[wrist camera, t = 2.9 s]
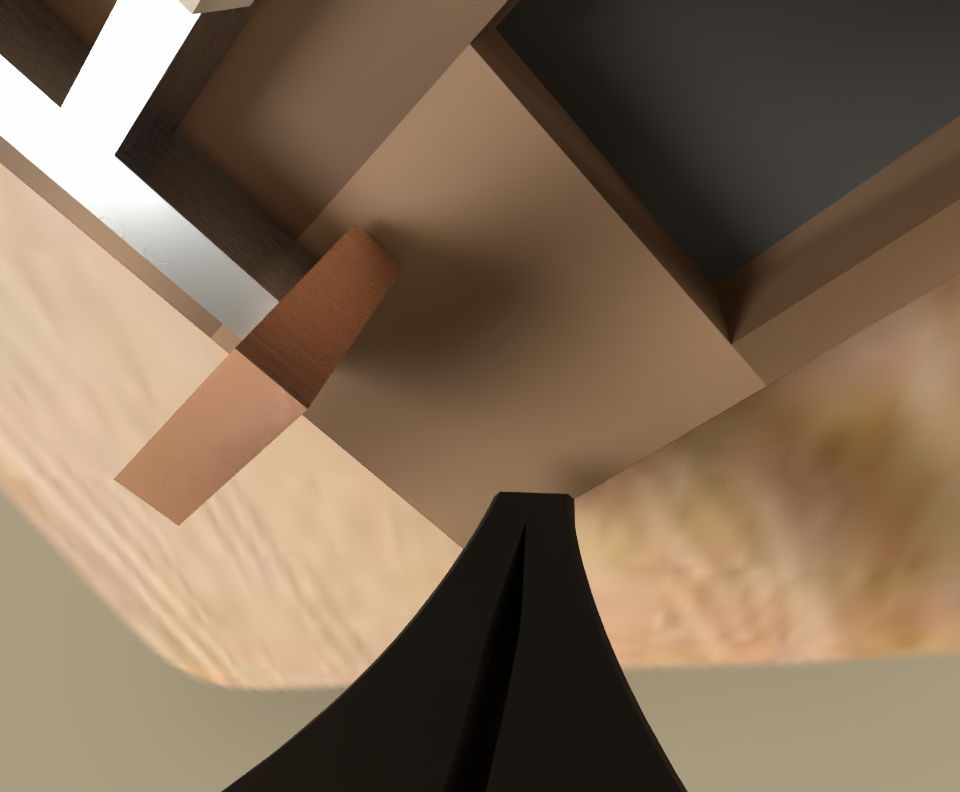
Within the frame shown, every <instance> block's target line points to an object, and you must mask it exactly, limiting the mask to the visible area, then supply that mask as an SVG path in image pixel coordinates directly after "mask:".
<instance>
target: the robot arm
mask: <svg viewBox="0 0 960 792" xmlns="http://www.w3.org/2000/svg"><path fill="white" fill-rule="evenodd" d="M222 792H687V790H686V788H685V787H684V785H683V784H682V782H681V780H680V779H679V777H678V775H677V774H676V772H675V770H674V768H673V767H672V765H671V763H670V761H669V759H668V758H667V756H666V754H665V752H664V751H663V749H662V747H661V745H660V743H659V742H658V740H657V738H656V736H655V734H654V733H653V731H652V729H651V727H650V725H649V724H648V722H647V720H646V718H645V716H644V715H643V712H642V711H641V708H640V707H639V705H638V702H637V701H636V698H635V696H634V694H633V692H632V691H631V688H630V686H629V684H628V682H627V680H626V678H625V676H624V673H623V671H622V669H621V667H620V665H619V662H618V660H617V658H616V656H615V653H614V651H613V649H612V646H611V644H610V641H609V639H608V636H607V634H606V631H605V629H604V626H603V623H602V621H601V618H600V616H599V613H598V610H597V607H596V604H595V602H594V599H593V596H592V593H591V589H590V586H589V583H588V579H587V576H586V573H585V569H584V566H583V562H582V559H581V555H580V550H579V546H578V541H577V536H576V530H575V510H574V499H573V498H572V497H571V496H570V495H569V494H559V493H530V492H499V493H498V494H496V495H495V496H494V498H493V500H492V502H491V504H490V506H489V508H488V509H487V511H486V513H485V515H484V517H483V518H482V520H481V522H480V524H479V525H478V527H477V529H476V530H475V532H474V533H473V535H472V537H471V538H470V540H469V542H468V543H467V545H466V546H465V548H464V549H463V551H462V552H461V554H460V555H459V557H458V558H457V560H456V561H455V563H454V564H453V565H452V567H451V568H450V570H449V571H448V573H447V574H446V576H445V577H444V579H443V580H442V581H441V583H440V584H439V585H438V587H437V588H436V589H435V591H434V592H433V593H432V594H431V596H430V597H429V598H428V600H427V601H426V602H425V603H424V605H423V606H422V607H421V609H420V610H419V611H418V613H417V614H416V615H415V616H414V618H413V619H412V620H411V621H410V622H409V624H408V625H407V626H406V627H405V628H404V629H403V631H402V632H401V633H400V634H399V635H398V636H397V638H396V639H395V640H394V641H393V642H392V643H391V644H390V645H389V646H388V647H387V649H386V650H385V651H384V652H383V653H382V654H381V655H380V656H379V657H378V658H377V659H376V660H375V662H374V663H373V664H372V665H371V666H370V667H369V668H368V669H367V670H366V671H365V672H364V673H363V674H362V675H361V676H360V677H359V678H358V679H357V680H356V681H355V682H354V683H353V684H352V685H351V686H350V687H349V688H348V689H346V691H345V692H343V693H342V694H341V695H340V696H339V697H338V698H337V699H336V700H335V701H334V702H333V703H332V704H330V705H329V706H328V707H327V708H326V709H325V710H324V711H323V712H321V713H320V714H319V715H318V716H317V717H315V718H314V719H313V720H312V721H311V722H310V723H308V724H307V725H306V726H305V727H304V728H303V729H301V730H300V731H299V732H298V733H297V734H296V735H294V736H293V737H292V738H291V739H290V740H289V741H287V742H286V743H285V744H284V745H283V746H281V747H280V748H279V749H278V750H276V751H275V752H274V753H273V754H271V755H270V756H269V757H267V758H266V759H265V760H263V761H262V762H261V763H259V764H258V765H257V766H255V767H254V768H253V769H251V770H250V771H249V772H247V773H246V774H245V775H243V776H242V777H241V778H239V779H238V780H236V781H235V782H234V783H232V784H231V785H230V786H228V787H227V788H226V789H224V790H223V791H222Z"/></svg>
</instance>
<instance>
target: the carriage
mask: <svg viewBox="0 0 960 792" xmlns="http://www.w3.org/2000/svg"><path fill="white" fill-rule="evenodd" d="M260 2H261V0H254V1H253V2H252V4H251V5H250V6H247V7H240V8H233V9H227V10H220V11H213V12H206V13H199V14H191V13H190V12H189V11H188V10H187V9H186V8H185V7H184V6H183V5H182V4H181V3H180V2H179V1H178V0H118V1H117V3H116V5H115V7H114V8H113V10H112V12H111V14H110V16H109V18H108V20H107V22H106V24H105V25H104V27H103V29H102V31H101V33H100V35H99V37H98V39H97V41H96V42H95V44H94V46H93V48H92V50H91V52H90V51H89V50H88V49H87V48H86V47H85V46H84V45H83V44H82V43H81V42H79V41H78V40H77V39H76V38H75V37H74V36H73V35H72V34H71V33H70V32H69V31H68V30H67V29H65V28H64V27H63V26H62V25H61V24H60V23H59V22H58V21H57V20H56V19H55V18H54V17H53V16H51V15H50V14H49V13H48V12H47V11H46V10H45V9H44V8H43V7H42V6H41V5H40V4H39V3H37V2H36V1H35V0H0V136H2V137H3V138H4V139H5V140H6V141H8V142H9V143H10V144H11V145H12V146H13V147H15V148H16V149H17V150H18V151H19V152H20V153H22V154H23V155H24V156H25V157H26V158H28V159H29V160H30V161H31V162H32V163H33V164H35V165H36V166H37V167H38V168H39V169H41V170H42V171H43V172H44V173H45V174H46V175H48V176H49V177H50V178H51V179H52V180H54V181H55V182H56V183H57V184H58V185H59V186H61V187H62V188H63V189H64V190H65V191H67V192H68V193H69V194H70V195H71V196H72V197H74V198H75V199H76V200H77V201H78V202H80V203H81V204H82V205H83V206H84V207H85V208H87V209H88V210H89V211H90V212H91V213H92V214H94V215H95V216H96V217H97V218H98V219H100V220H101V221H102V222H103V223H104V224H105V225H107V226H108V227H109V228H110V229H111V230H113V231H114V232H115V233H116V234H117V235H118V236H120V237H121V238H122V239H123V240H124V241H126V242H127V243H128V244H129V245H130V246H131V247H133V248H134V249H135V250H136V251H137V252H139V253H140V254H141V255H142V256H143V257H144V258H146V259H147V260H148V261H149V262H150V263H152V264H153V265H154V266H155V267H156V268H157V269H159V270H160V271H161V272H162V273H163V274H164V275H166V276H167V277H168V278H169V279H170V280H172V281H173V282H174V283H175V284H176V285H177V286H179V287H180V288H181V289H182V290H183V291H185V292H186V293H187V294H188V295H189V296H190V297H192V298H193V299H194V300H195V301H196V302H198V303H199V304H200V305H201V306H202V307H203V308H205V309H206V310H207V311H208V312H209V313H211V314H212V315H213V316H214V317H215V318H216V319H218V320H219V321H220V322H221V323H222V324H224V325H225V326H226V327H227V328H228V329H229V330H231V331H232V332H233V333H234V334H235V335H236V336H238V337H239V338H240V339H241V340H242V341H241V342H240V343H239V344H238V345H237V346H236V347H235V349H234V350H233V351H232V352H231V353H230V354H229V355H228V356H227V357H226V358H225V359H224V360H223V362H222V363H221V364H220V365H219V366H218V367H217V368H216V369H215V370H214V371H213V372H212V373H211V375H210V376H209V377H208V378H207V379H206V380H205V381H204V382H203V383H202V384H201V385H200V386H199V387H198V389H197V390H196V391H195V392H194V393H193V394H192V395H191V396H190V397H189V398H188V399H187V400H186V402H185V403H184V404H183V405H182V406H181V407H180V408H179V409H178V410H177V411H176V412H175V413H174V415H173V416H172V417H171V418H170V419H169V420H168V421H167V422H166V423H165V424H164V425H163V426H162V428H161V429H160V430H159V431H158V432H157V433H156V434H155V435H154V436H153V437H152V438H151V439H150V441H149V442H148V443H147V444H146V445H145V446H144V447H143V448H142V449H141V450H140V451H139V452H138V454H137V455H136V456H135V457H134V458H133V459H132V460H131V461H130V462H129V463H128V464H127V465H126V467H125V468H124V469H123V470H122V471H121V472H120V473H119V474H118V475H117V476H116V477H115V478H114V480H116V481H117V482H119V483H120V484H121V485H123V486H124V487H126V488H127V489H128V490H130V491H131V492H132V493H134V494H135V495H137V496H138V497H139V498H141V499H142V500H144V501H145V502H146V503H148V504H149V505H150V506H152V507H153V508H155V509H156V510H157V511H159V512H160V513H162V514H163V515H164V516H166V517H167V518H168V519H170V520H171V521H173V522H174V523H175V524H177V525H178V526H179V525H180V524H181V523H182V522H183V521H184V520H185V519H187V518H188V517H189V516H190V515H191V514H192V513H193V512H194V511H195V510H197V509H198V508H199V507H200V506H201V505H202V504H203V503H204V502H205V501H207V500H208V499H209V498H210V497H211V496H212V495H213V494H214V493H215V492H216V491H218V490H219V489H220V488H221V487H222V486H223V485H224V484H225V483H226V482H228V481H229V480H230V479H231V478H232V477H233V476H234V475H235V474H236V473H238V472H239V471H240V470H241V469H242V468H243V467H244V466H245V465H246V464H247V463H249V462H250V461H251V460H252V459H253V458H254V457H255V456H256V455H257V454H259V453H260V452H261V451H262V450H263V449H264V448H265V447H266V446H267V445H269V444H270V443H271V442H272V441H273V440H274V439H275V438H276V437H277V436H279V435H280V434H281V433H282V432H283V431H284V430H285V429H286V428H287V427H288V426H290V425H291V424H292V423H293V422H294V421H295V420H296V419H297V418H298V417H300V416H301V415H302V414H303V413H304V412H305V411H306V410H307V409H308V408H309V406H310V405H311V403H312V402H313V401H314V399H315V398H316V396H317V395H318V393H319V392H320V390H321V389H322V387H323V386H324V384H325V383H326V381H327V380H328V378H329V377H330V375H331V374H332V372H333V371H334V370H335V368H336V367H337V365H338V364H339V362H340V361H341V359H342V358H343V356H344V355H345V353H346V352H347V350H348V349H349V347H350V346H351V344H352V343H353V341H354V340H355V339H356V337H357V336H358V334H359V333H360V331H361V330H362V328H363V327H364V325H365V324H366V322H367V321H368V319H369V318H370V316H371V315H372V313H373V312H374V310H375V309H376V308H377V306H378V305H379V303H380V302H381V300H382V299H383V297H384V296H385V294H386V293H387V291H388V290H389V288H390V287H391V285H392V284H393V282H394V281H395V279H396V278H397V277H398V275H399V274H400V272H401V271H402V268H401V267H400V266H399V265H398V264H397V263H396V262H395V261H394V260H393V259H392V258H391V257H390V256H389V255H388V254H387V253H386V252H385V251H384V250H383V249H382V248H381V247H380V246H379V245H378V244H377V243H376V242H375V241H374V240H372V239H371V238H370V237H369V236H368V235H367V234H366V233H365V232H364V231H363V230H362V229H361V228H360V227H359V226H358V225H357V224H356V223H355V224H354V225H353V226H352V227H351V228H350V229H349V231H348V232H347V233H346V234H345V235H344V236H343V237H342V238H341V239H340V240H339V241H338V242H337V243H336V244H335V245H334V246H333V247H332V248H331V249H330V250H329V251H328V252H327V253H326V254H325V255H324V256H323V257H322V258H321V259H320V261H319V262H317V261H316V260H314V259H313V258H312V257H311V256H310V255H309V254H308V253H307V252H306V251H305V250H304V249H303V248H302V247H300V246H299V245H298V244H297V243H296V242H295V241H294V240H293V239H292V238H291V237H290V236H289V235H288V234H286V233H285V232H284V231H283V230H282V229H281V228H280V227H279V226H278V225H277V224H276V223H275V222H274V221H272V220H271V219H270V218H269V217H268V216H267V215H266V214H265V213H264V212H263V211H262V210H261V209H260V208H258V207H257V206H256V205H255V204H254V203H253V202H252V201H251V200H250V199H249V198H248V197H247V196H246V195H244V194H243V193H242V192H241V191H240V190H239V189H238V188H237V187H236V186H235V185H234V184H233V183H231V182H230V181H229V180H228V179H227V178H226V177H225V176H224V175H223V174H222V173H221V172H220V171H219V170H217V169H216V168H215V167H214V166H213V165H212V164H211V163H210V162H209V161H208V160H207V159H206V158H205V157H203V156H202V155H201V154H200V153H199V152H198V151H197V150H196V149H195V148H194V147H193V146H192V145H191V144H189V143H188V142H187V141H186V140H185V139H184V138H183V137H182V136H181V135H180V134H179V133H178V132H177V131H176V129H177V128H178V126H179V125H180V123H181V122H182V120H183V119H184V117H185V116H186V114H187V112H188V111H189V109H190V108H191V106H192V105H193V103H194V102H195V100H196V99H197V97H198V96H199V94H200V93H201V91H202V90H203V88H204V87H205V85H206V84H207V82H208V81H209V79H210V78H211V76H212V75H213V73H214V71H215V70H216V68H217V67H218V65H219V64H220V62H221V61H222V59H223V58H224V56H225V55H226V53H227V52H228V50H229V49H230V47H231V46H232V44H233V43H234V41H235V40H236V38H237V37H238V35H239V34H240V32H241V30H242V29H243V27H244V26H245V24H246V23H247V21H248V20H249V18H250V17H251V15H252V14H253V12H254V11H255V9H256V8H257V6H258V5H259V3H260Z"/></svg>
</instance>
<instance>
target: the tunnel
mask: <svg viewBox="0 0 960 792" xmlns="http://www.w3.org/2000/svg"><path fill="white" fill-rule="evenodd" d="M35 1H36V2H37V3H39V4H40V5H41V6H42V7H43V8H44V9H45V10H46V11H47V12H48V13H49V14H50V15H51V16H53V17H54V18H55V19H56V20H57V21H58V22H59V23H60V24H61V25H62V26H63V27H64V28H65V29H67V30H68V31H69V32H70V33H71V34H72V35H73V36H74V37H75V38H76V39H77V40H78V41H79V42H81V43H82V44H83V45H84V46H85V47H86V48H87V49H88V50H89V51H90V52H91V50H92V48H93V46H94V44H95V42H96V41H97V39H98V37H99V35H100V33H101V31H102V29H103V27H104V25H105V24H106V22H107V20H108V18H109V16H110V14H111V12H112V10H113V8H114V7H115V5H116V3H117V1H118V0H35ZM178 1H179V2H180V3H181V4H182V5H183V6H184V7H185V8H186V9H187V10H188V11H189V12H190V13H191V14H199V13H206V12H213V11H220V10H227V9H233V8H240V7H247V6H250V5H251V4H252V2H253V1H254V0H178ZM176 131H177V132H178V133H179V134H180V135H181V136H182V137H183V138H184V139H185V140H186V141H187V142H188V143H189V144H191V145H192V146H193V147H194V148H195V149H196V150H197V151H198V152H199V153H200V154H201V155H202V156H203V157H205V158H206V159H207V160H208V161H209V162H210V163H211V164H212V165H213V166H214V167H215V168H216V169H217V170H219V171H220V172H221V173H222V174H223V175H224V176H225V177H226V178H227V179H228V180H229V181H230V182H231V183H233V184H234V185H235V186H236V187H237V188H238V189H239V190H240V191H241V192H242V193H243V194H244V195H246V196H247V197H248V198H249V199H250V200H251V201H252V202H253V203H254V204H255V205H256V206H257V207H258V208H260V209H261V210H262V211H263V212H264V213H265V214H266V215H267V216H268V217H269V218H270V219H271V220H272V221H274V222H275V223H276V224H277V225H278V226H279V227H280V228H281V229H282V230H283V231H284V232H285V233H286V234H288V235H289V236H290V237H291V238H292V239H293V240H294V241H295V242H296V243H297V244H298V245H299V246H300V247H302V248H303V249H304V250H305V251H306V252H307V253H308V254H309V255H310V256H311V257H312V258H313V259H314V260H316V261H317V262H319V261H320V259H321V258H322V257H323V256H324V255H325V254H326V253H327V252H328V251H329V250H330V249H331V248H332V247H333V246H334V245H335V244H336V243H337V242H338V241H339V240H340V239H341V238H342V237H343V236H344V235H345V234H346V233H347V232H348V231H349V229H350V228H351V227H352V226H353V225H354V224H355V223H356V224H357V225H358V226H359V227H360V228H361V229H362V230H363V231H364V232H365V233H366V234H367V235H368V236H369V237H370V238H371V239H372V240H374V241H375V242H376V243H377V244H378V245H379V246H380V247H381V248H382V249H383V250H384V251H385V252H386V253H387V254H388V255H389V256H390V257H391V258H392V259H393V260H394V261H395V262H396V263H397V264H398V265H399V266H400V267H401V268H402V271H401V272H400V274H399V275H398V277H397V278H396V279H395V281H394V282H393V284H392V285H391V287H390V288H389V290H388V291H387V293H386V294H385V296H384V297H383V299H382V300H381V302H380V303H379V305H378V306H377V308H376V309H375V310H374V312H373V313H372V315H371V316H370V318H369V319H368V321H367V322H366V324H365V325H364V327H363V328H362V330H361V331H360V333H359V334H358V336H357V337H356V339H355V340H354V341H353V343H352V344H351V346H350V347H349V349H348V350H347V352H346V353H345V355H344V356H343V358H342V359H341V361H340V362H339V364H338V365H337V367H336V368H335V370H334V371H333V372H332V374H331V375H330V377H329V378H328V380H327V381H326V383H325V384H324V386H323V387H322V389H321V390H320V392H319V393H318V395H317V396H316V398H315V399H314V401H313V402H312V403H311V405H310V406H309V408H308V409H307V410H306V411H305V412H304V413H303V414H302V415H303V416H305V417H306V418H307V419H308V420H309V421H311V422H312V423H313V424H314V425H315V426H317V427H318V428H319V429H320V430H321V431H323V432H324V433H325V434H326V435H327V436H329V437H330V438H331V439H332V440H333V441H335V442H336V443H337V444H338V445H339V446H341V447H342V448H343V449H344V450H345V451H347V452H348V453H349V454H350V455H351V456H353V457H354V458H355V459H356V460H357V461H359V462H360V463H361V464H362V465H363V466H365V467H366V468H367V469H368V470H369V471H371V472H372V473H373V474H374V475H375V476H377V477H378V478H379V479H380V480H381V481H383V482H384V483H385V484H386V485H387V486H389V487H390V488H391V489H392V490H393V491H395V492H396V493H397V494H398V495H399V496H401V497H402V498H403V499H404V500H405V501H406V502H408V503H409V504H410V505H411V506H412V507H414V508H415V509H416V510H417V511H418V512H420V513H421V514H422V515H423V516H424V517H426V518H427V519H428V520H429V521H430V522H432V523H433V524H434V525H435V526H436V527H438V528H439V529H440V530H441V531H442V532H444V533H445V534H446V535H447V536H448V537H450V538H451V539H452V540H453V541H454V542H456V543H457V544H458V545H459V546H460V547H462V548H463V549H464V548H465V546H466V545H467V543H468V542H469V540H470V538H471V537H472V535H473V533H474V532H475V530H476V529H477V527H478V525H479V524H480V522H481V520H482V518H483V517H484V515H485V513H486V511H487V509H488V508H489V506H490V504H491V502H492V500H493V498H494V496H495V495H496V494H498V493H499V492H530V493H559V494H569V495H570V496H571V497H572V498H573V499H575V498H577V497H578V496H580V495H582V494H583V493H585V492H587V491H588V490H590V489H592V488H594V487H595V486H597V485H599V484H600V483H602V482H604V481H606V480H607V479H609V478H611V477H612V476H614V475H616V474H617V473H619V472H621V471H623V470H624V469H626V468H628V467H629V466H631V465H633V464H634V463H636V462H638V461H640V460H641V459H643V458H645V457H646V456H648V455H650V454H652V453H653V452H655V451H657V450H658V449H660V448H662V447H663V446H665V445H667V444H669V443H670V442H672V441H674V440H675V439H677V438H679V437H680V436H682V435H684V434H686V433H687V432H689V431H691V430H692V429H694V428H696V427H698V426H699V425H701V424H703V423H704V422H706V421H708V420H709V419H711V418H713V417H715V416H716V415H718V414H720V413H721V412H723V411H725V410H726V409H728V408H730V407H732V406H733V405H735V404H737V403H738V402H740V401H742V400H744V399H745V398H747V397H749V396H750V395H752V394H754V393H755V392H757V391H759V390H761V389H762V388H764V387H766V386H767V385H769V384H771V383H773V382H774V381H776V380H778V379H779V378H781V377H783V376H784V375H786V374H788V373H790V372H791V371H793V370H795V369H796V368H798V367H800V366H801V365H803V364H805V363H807V362H808V361H810V360H812V359H813V358H815V357H817V356H819V355H820V354H822V353H824V352H825V351H827V350H829V349H830V348H832V347H834V346H836V345H837V344H839V343H841V342H842V341H844V340H846V339H847V338H849V337H851V336H853V335H854V334H856V333H858V332H859V331H861V330H863V329H865V328H866V327H868V326H870V325H871V324H873V323H875V322H876V321H878V320H880V319H882V318H883V317H885V316H887V315H888V314H890V313H892V312H894V311H895V310H897V309H899V308H900V307H902V306H904V305H905V304H907V303H909V302H911V301H912V300H914V299H916V298H917V297H919V296H921V295H922V294H924V293H926V292H928V291H929V290H931V289H933V288H934V287H936V286H938V285H940V284H941V283H943V282H945V281H946V280H948V279H950V278H951V277H953V276H955V275H957V274H958V273H960V0H261V2H260V3H259V5H258V6H257V8H256V9H255V11H254V12H253V14H252V15H251V17H250V18H249V20H248V21H247V23H246V24H245V26H244V27H243V29H242V30H241V32H240V34H239V35H238V37H237V38H236V40H235V41H234V43H233V44H232V46H231V47H230V49H229V50H228V52H227V53H226V55H225V56H224V58H223V59H222V61H221V62H220V64H219V65H218V67H217V68H216V70H215V71H214V73H213V75H212V76H211V78H210V79H209V81H208V82H207V84H206V85H205V87H204V88H203V90H202V91H201V93H200V94H199V96H198V97H197V99H196V100H195V102H194V103H193V105H192V106H191V108H190V109H189V111H188V112H187V114H186V116H185V117H184V119H183V120H182V122H181V123H180V125H179V126H178V128H177V129H176ZM0 163H1V164H2V165H4V166H5V167H6V168H7V169H8V170H10V171H11V172H12V173H13V174H14V175H16V176H17V177H18V178H19V179H20V180H22V181H23V182H24V183H25V184H26V185H28V186H29V187H30V188H31V189H32V190H34V191H35V192H36V193H37V194H38V195H40V196H41V197H42V198H43V199H44V200H46V201H47V202H48V203H49V204H50V205H52V206H53V207H54V208H55V209H56V210H58V211H59V212H60V213H61V214H62V215H64V216H65V217H66V218H67V219H68V220H70V221H71V222H72V223H73V224H74V225H76V226H77V227H78V228H79V229H80V230H82V231H83V232H84V233H85V234H86V235H88V236H89V237H90V238H91V239H92V240H94V241H95V242H96V243H97V244H98V245H100V246H101V247H102V248H103V249H104V250H106V251H107V252H108V253H109V254H110V255H112V256H113V257H114V258H115V259H116V260H118V261H119V262H120V263H121V264H122V265H124V266H125V267H126V268H127V269H128V270H130V271H131V272H132V273H133V274H134V275H136V276H137V277H138V278H139V279H140V280H142V281H143V282H144V283H145V284H146V285H148V286H149V287H150V288H151V289H152V290H154V291H155V292H156V293H157V294H158V295H160V296H161V297H162V298H163V299H164V300H166V301H167V302H168V303H169V304H170V305H172V306H173V307H174V308H175V309H176V310H178V311H179V312H180V313H181V314H182V315H184V316H185V317H186V318H187V319H188V320H190V321H191V322H192V323H193V324H194V325H196V326H197V327H198V328H199V329H200V330H202V331H203V332H204V333H205V334H206V335H207V336H209V337H210V338H211V339H212V340H213V341H215V342H216V343H217V344H218V345H219V346H221V347H222V348H223V349H224V350H225V351H227V352H228V353H229V354H230V353H231V352H232V351H233V350H234V349H235V347H236V346H237V345H238V344H239V343H240V342H241V341H242V340H241V339H240V338H239V337H238V336H236V335H235V334H234V333H233V332H232V331H231V330H229V329H228V328H227V327H226V326H225V325H224V324H222V323H221V322H220V321H219V320H218V319H216V318H215V317H214V316H213V315H212V314H211V313H209V312H208V311H207V310H206V309H205V308H203V307H202V306H201V305H200V304H199V303H198V302H196V301H195V300H194V299H193V298H192V297H190V296H189V295H188V294H187V293H186V292H185V291H183V290H182V289H181V288H180V287H179V286H177V285H176V284H175V283H174V282H173V281H172V280H170V279H169V278H168V277H167V276H166V275H164V274H163V273H162V272H161V271H160V270H159V269H157V268H156V267H155V266H154V265H153V264H152V263H150V262H149V261H148V260H147V259H146V258H144V257H143V256H142V255H141V254H140V253H139V252H137V251H136V250H135V249H134V248H133V247H131V246H130V245H129V244H128V243H127V242H126V241H124V240H123V239H122V238H121V237H120V236H118V235H117V234H116V233H115V232H114V231H113V230H111V229H110V228H109V227H108V226H107V225H105V224H104V223H103V222H102V221H101V220H100V219H98V218H97V217H96V216H95V215H94V214H92V213H91V212H90V211H89V210H88V209H87V208H85V207H84V206H83V205H82V204H81V203H80V202H78V201H77V200H76V199H75V198H74V197H72V196H71V195H70V194H69V193H68V192H67V191H65V190H64V189H63V188H62V187H61V186H59V185H58V184H57V183H56V182H55V181H54V180H52V179H51V178H50V177H49V176H48V175H46V174H45V173H44V172H43V171H42V170H41V169H39V168H38V167H37V166H36V165H35V164H33V163H32V162H31V161H30V160H29V159H28V158H26V157H25V156H24V155H23V154H22V153H20V152H19V151H18V150H17V149H16V148H15V147H13V146H12V145H11V144H10V143H9V142H8V141H6V140H5V139H4V138H3V137H2V136H0Z"/></svg>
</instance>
